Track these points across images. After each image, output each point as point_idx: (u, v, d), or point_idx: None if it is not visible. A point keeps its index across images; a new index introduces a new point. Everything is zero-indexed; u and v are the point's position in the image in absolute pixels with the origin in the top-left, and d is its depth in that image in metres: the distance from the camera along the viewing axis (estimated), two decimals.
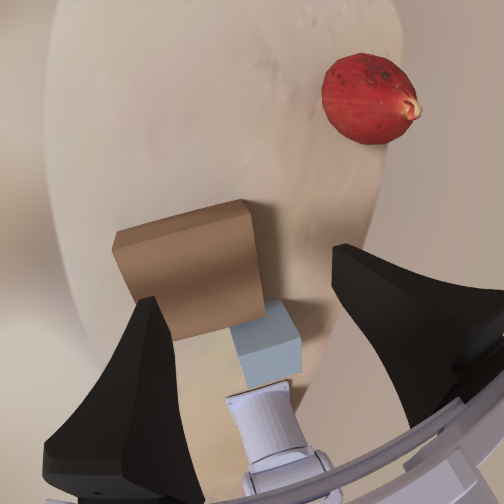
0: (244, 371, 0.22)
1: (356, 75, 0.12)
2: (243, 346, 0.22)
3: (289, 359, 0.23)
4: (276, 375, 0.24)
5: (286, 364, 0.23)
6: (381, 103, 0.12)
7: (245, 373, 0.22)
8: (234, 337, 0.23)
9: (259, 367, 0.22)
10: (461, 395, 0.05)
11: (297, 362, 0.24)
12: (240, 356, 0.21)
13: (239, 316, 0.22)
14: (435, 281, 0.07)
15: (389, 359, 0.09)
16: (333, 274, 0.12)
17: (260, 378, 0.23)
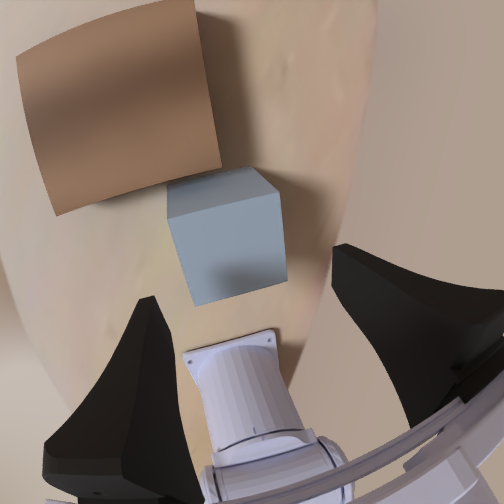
0: (182, 261, 0.13)
1: None
2: (179, 208, 0.13)
3: (263, 245, 0.14)
4: (242, 280, 0.15)
5: (259, 257, 0.14)
6: None
7: (184, 266, 0.13)
8: (169, 202, 0.14)
9: (208, 254, 0.13)
10: (461, 395, 0.05)
11: (278, 256, 0.14)
12: (170, 220, 0.12)
13: (177, 161, 0.13)
14: (435, 281, 0.07)
15: (389, 359, 0.09)
16: (333, 274, 0.12)
17: (214, 284, 0.14)
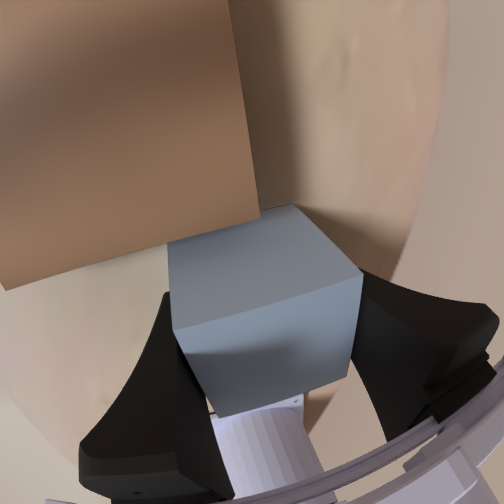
0: (200, 378, 0.08)
1: None
2: (192, 302, 0.07)
3: (325, 346, 0.08)
4: (288, 387, 0.09)
5: (316, 360, 0.09)
6: None
7: (204, 384, 0.08)
8: (173, 280, 0.08)
9: (242, 368, 0.08)
10: (435, 415, 0.05)
11: (342, 354, 0.09)
12: (178, 331, 0.07)
13: (184, 209, 0.08)
14: (412, 292, 0.07)
15: (365, 371, 0.09)
16: None
17: (247, 396, 0.09)
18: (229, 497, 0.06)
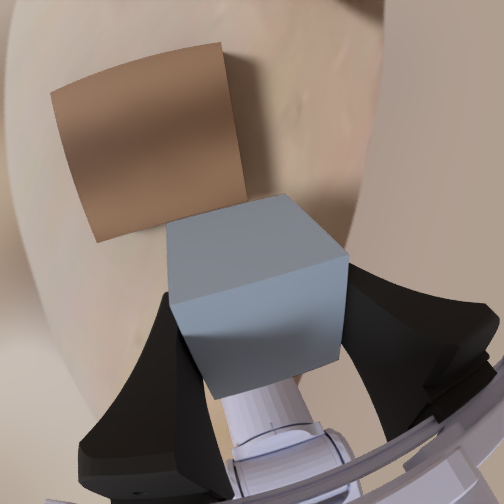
0: (196, 356, 0.08)
1: None
2: (188, 280, 0.08)
3: (315, 326, 0.09)
4: (281, 368, 0.10)
5: (307, 341, 0.09)
6: None
7: (200, 362, 0.09)
8: (171, 262, 0.09)
9: (235, 346, 0.09)
10: (435, 415, 0.05)
11: (333, 336, 0.10)
12: (175, 306, 0.07)
13: (209, 196, 0.16)
14: (412, 292, 0.07)
15: (365, 371, 0.09)
16: None
17: (242, 376, 0.09)
18: (228, 497, 0.06)
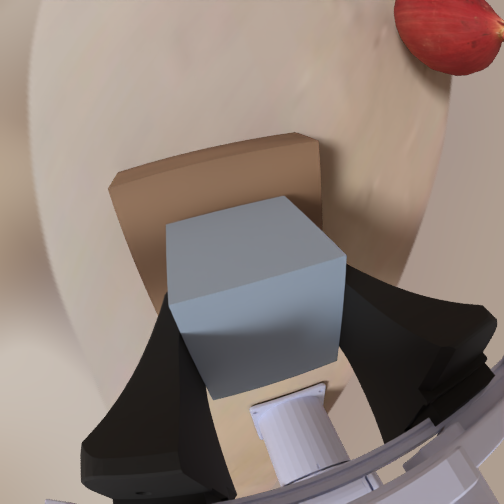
0: (194, 356, 0.08)
1: None
2: (187, 281, 0.08)
3: (313, 327, 0.09)
4: (279, 369, 0.10)
5: (305, 342, 0.09)
6: (476, 18, 0.06)
7: (198, 361, 0.09)
8: (170, 263, 0.09)
9: (234, 346, 0.09)
10: (431, 417, 0.05)
11: (331, 336, 0.10)
12: (174, 306, 0.07)
13: None
14: (408, 294, 0.07)
15: (362, 372, 0.09)
16: None
17: (240, 377, 0.09)
18: (231, 497, 0.06)
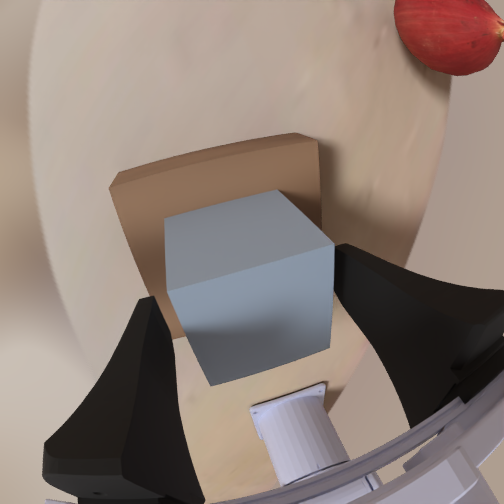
0: (192, 341, 0.09)
1: None
2: (184, 269, 0.09)
3: (305, 313, 0.10)
4: (273, 355, 0.10)
5: (298, 328, 0.10)
6: (476, 18, 0.06)
7: (195, 347, 0.09)
8: (168, 253, 0.09)
9: (229, 331, 0.09)
10: (461, 395, 0.05)
11: (322, 323, 0.10)
12: (172, 292, 0.08)
13: None
14: (435, 281, 0.07)
15: (389, 359, 0.09)
16: None
17: (236, 362, 0.10)
18: (198, 502, 0.06)
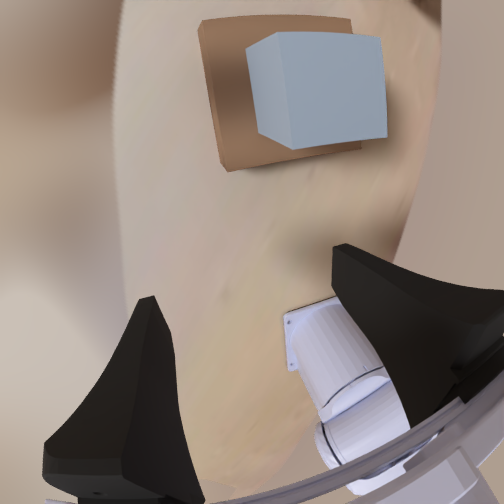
0: (287, 82, 0.10)
1: None
2: None
3: (368, 86, 0.11)
4: (346, 123, 0.11)
5: (363, 99, 0.11)
6: None
7: (289, 90, 0.10)
8: (264, 39, 0.10)
9: (315, 81, 0.10)
10: (461, 395, 0.05)
11: (380, 103, 0.11)
12: (280, 33, 0.09)
13: None
14: (435, 281, 0.07)
15: (389, 359, 0.09)
16: (333, 274, 0.12)
17: (318, 121, 0.11)
18: (198, 502, 0.06)
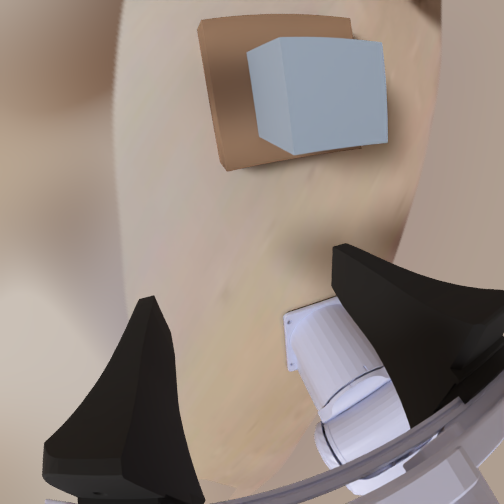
0: (289, 88, 0.10)
1: None
2: None
3: (369, 92, 0.11)
4: (347, 129, 0.11)
5: (364, 104, 0.11)
6: None
7: (290, 95, 0.10)
8: (266, 43, 0.10)
9: (317, 86, 0.10)
10: (461, 395, 0.05)
11: (381, 109, 0.11)
12: (282, 39, 0.09)
13: None
14: (435, 281, 0.07)
15: (389, 359, 0.09)
16: (333, 274, 0.12)
17: (319, 126, 0.11)
18: (198, 502, 0.06)
